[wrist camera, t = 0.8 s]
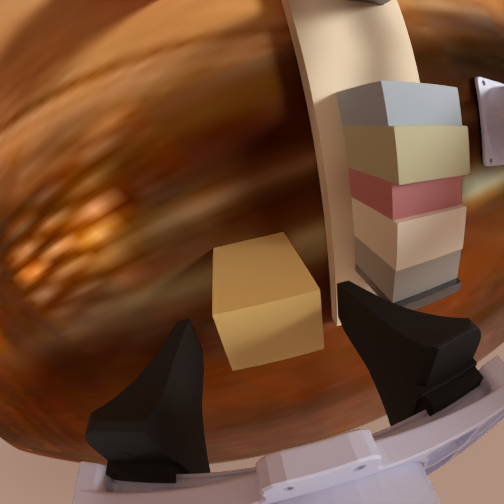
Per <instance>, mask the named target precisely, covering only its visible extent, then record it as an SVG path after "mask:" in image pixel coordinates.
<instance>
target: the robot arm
mask: <svg viewBox="0 0 504 504" xmlns="http://www.w3.org/2000/svg"><path fill="white" fill-rule="evenodd" d="M475 86H476V92H477V98H478V105H479V113H480V122H481V134H482V153H483V164H484V165H485V166H498V165H504V84H502V83H499V82H496V81H492V80H489V79H486V78H482V77H475ZM337 301H338V318H339V320H340V322H341V324H342V326H343V329H344V331H345V333H346V334H347V336H348V338H349V339H350V341H351V342H352V344H353V345H354V347H355V349H356V350H357V352H358V353H359V355H360V356H361V358H362V360H363V361H364V363H365V365H366V366H367V368H368V370H369V372H370V374H371V376H372V379H373V381H374V383H375V385H376V388H377V390H378V392H379V395H380V397H381V400H382V402H383V405H384V408H385V411H386V413H387V416H388V419H389V422H390V425H391V426H390V427H389V428H386V429H384V430H381V431H379V432H376V433H374V434H371V432H370V431H369V430H363V429H357V430H353V431H348V432H345V433H342V434H339V435H336V436H333V437H330V438H326V439H323V440H320V441H316V442H313V443H309V444H305V445H302V446H298V447H294V448H289V449H285V450H281V451H277V452H274V453H271V454H268V455H266V456H264V457H263V458H261V459H259V461H257V463H256V467H253V468H246V469H239V470H232V471H224V472H213V473H210V468H209V463H208V457H207V451H206V444H205V436H204V428H203V417H202V393H203V373H204V364H203V352H202V348H201V345H200V343H199V341H198V338H197V336H196V333H195V331H194V329H193V326H192V324H191V321H190V319H186V320H181V321H177V323H176V324H175V326H174V328H173V329H172V331H171V332H170V334H169V336H168V337H167V339H166V341H165V342H164V344H163V345H162V347H161V348H160V350H159V351H158V353H157V354H156V355H155V357H154V358H153V360H152V361H151V362H150V364H149V365H148V366H147V367H146V368H145V370H144V371H143V372H142V373H141V374H140V375H139V376H138V377H137V378H136V379H135V380H134V381H133V382H132V383H131V384H130V385H129V386H128V387H127V388H126V389H125V390H124V391H123V392H121V393H120V394H119V395H118V396H116V397H115V398H114V399H112V400H111V401H110V402H108V403H107V404H105V405H104V406H102V407H100V408H99V409H97V410H95V411H94V412H92V413H91V416H90V420H89V423H88V427H87V430H86V434H85V439H86V441H87V442H88V444H89V445H90V446H91V447H92V448H93V449H95V450H96V451H97V452H98V453H99V454H101V455H102V456H103V457H104V458H106V459H107V460H108V463H107V466H106V465H103V464H99V463H92V462H85V461H81V462H80V466H79V471H78V476H77V481H76V486H75V491H74V497H73V503H72V504H441V502H440V500H439V498H438V496H437V494H436V492H435V490H434V488H433V486H432V484H431V482H430V480H429V478H428V476H427V475H429V474H430V473H432V472H433V471H435V470H437V469H438V468H440V467H441V466H443V465H444V464H446V463H447V462H449V461H450V460H452V459H453V458H454V457H456V456H457V455H458V454H460V453H461V452H463V451H464V450H465V449H466V448H468V447H469V446H470V445H472V444H473V443H474V442H476V441H477V440H478V439H479V438H481V437H482V436H483V435H484V434H485V433H487V432H488V431H489V430H490V429H491V428H493V427H494V426H495V425H496V424H497V423H498V422H500V421H501V420H502V419H503V418H504V362H503V360H502V359H501V358H500V357H499V356H495V357H494V358H493V359H491V360H490V361H489V362H487V363H486V364H485V365H483V366H482V367H481V369H480V370H479V371H478V370H477V369H476V367H475V366H476V365H477V362H476V361H475V360H474V359H473V357H474V354H475V352H476V350H477V347H478V345H479V342H480V338H481V331H480V329H479V328H478V327H477V326H476V325H475V324H474V323H473V322H472V321H471V320H470V319H469V318H451V317H443V316H436V315H430V314H426V313H422V312H418V311H414V310H411V309H408V308H405V307H402V306H399V305H397V304H394V303H392V302H390V301H388V300H385V299H383V298H381V297H379V296H377V295H375V294H373V293H371V292H369V291H367V290H366V289H364V288H362V287H360V286H358V285H356V284H354V283H353V282H351V281H344V282H341V283H337Z"/></svg>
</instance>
